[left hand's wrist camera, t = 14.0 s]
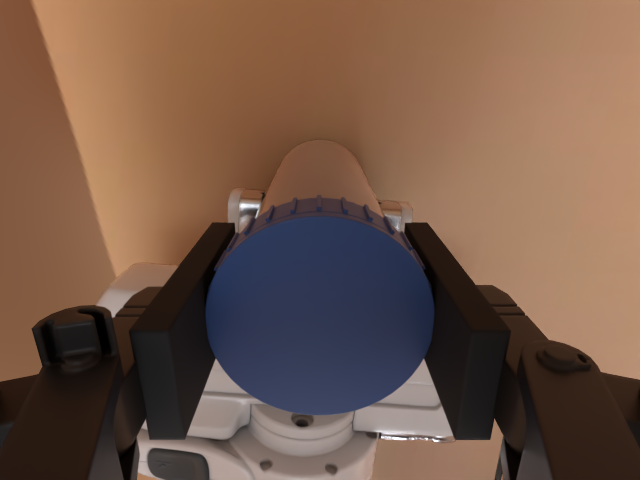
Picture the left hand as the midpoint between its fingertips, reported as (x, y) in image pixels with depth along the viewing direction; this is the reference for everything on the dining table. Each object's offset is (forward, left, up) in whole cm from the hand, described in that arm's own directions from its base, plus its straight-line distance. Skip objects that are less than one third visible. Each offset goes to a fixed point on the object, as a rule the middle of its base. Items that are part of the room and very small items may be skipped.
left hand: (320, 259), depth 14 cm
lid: (0, 0, +4) cm, 4 cm away
